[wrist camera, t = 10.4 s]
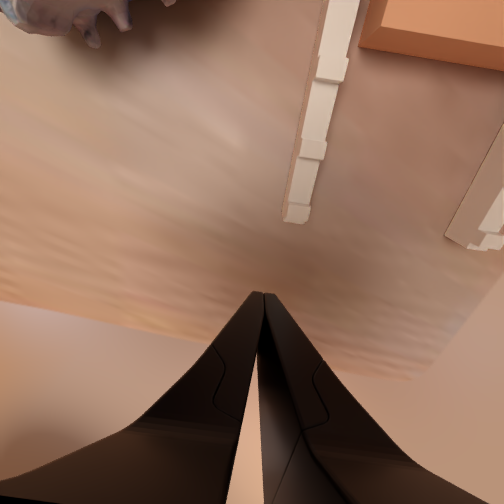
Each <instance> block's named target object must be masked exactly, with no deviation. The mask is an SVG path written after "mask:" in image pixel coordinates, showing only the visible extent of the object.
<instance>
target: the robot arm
mask: <svg viewBox="0 0 504 504" xmlns="http://www.w3.org/2000/svg"><path fill="white" fill-rule="evenodd" d="M256 353H257V371H258V389H259V390H258V391H259V411H260V431H261V451H262V471H263V491H264V504H488V503H487V502H485V501H483V500H481V499H479V498H477V497H475V496H474V495H472V494H470V493H468V492H466V491H464V490H463V489H461V488H459V487H457V486H455V485H454V484H452V483H450V482H448V481H446V480H444V479H442V478H441V477H439V476H437V475H435V474H433V473H431V472H430V471H428V470H426V469H425V468H423V467H422V466H420V465H419V464H417V463H416V462H415V461H413V460H412V459H411V458H410V457H409V456H408V455H407V454H406V453H404V452H403V451H402V450H401V449H400V448H399V447H398V446H397V445H396V444H395V443H394V442H393V440H392V439H391V438H390V437H389V436H388V435H387V434H386V432H385V431H384V430H383V429H382V428H381V427H380V426H379V425H378V424H377V422H376V421H375V420H374V419H373V418H372V417H371V416H370V415H369V413H368V412H367V411H366V410H365V409H364V408H363V407H362V406H361V405H360V403H358V401H357V400H356V399H355V398H354V397H353V395H352V394H351V393H350V392H349V391H348V390H347V389H346V387H345V386H344V385H343V384H342V383H341V381H340V380H339V379H338V377H337V376H336V375H335V374H334V373H333V371H332V370H331V368H330V367H329V366H328V364H327V363H326V362H325V361H324V360H323V358H322V357H321V355H320V354H319V353H318V351H317V350H316V349H315V347H314V346H313V344H312V343H311V342H310V340H309V339H308V338H307V336H306V335H305V334H304V332H303V331H302V330H301V328H300V327H299V326H298V324H297V323H296V322H295V320H294V319H293V318H292V316H291V315H290V314H289V312H288V311H287V310H286V308H285V307H284V306H283V304H282V303H281V302H280V300H279V299H278V297H277V296H276V295H275V294H272V293H264V294H263V293H262V292H257V291H252V292H251V294H250V295H249V296H248V297H247V299H246V300H245V301H244V302H243V304H242V305H241V306H240V307H239V309H238V310H237V311H236V313H235V314H234V315H233V316H232V318H231V319H230V320H229V321H228V323H227V324H226V325H225V327H224V328H223V329H222V330H221V332H220V333H219V334H218V335H217V337H216V338H215V339H214V340H213V342H212V343H211V345H209V347H208V348H207V349H206V350H205V352H204V353H203V354H202V355H201V357H200V358H199V359H198V360H197V361H196V362H195V364H194V365H193V366H192V367H191V368H190V369H189V370H188V371H187V372H186V373H185V374H184V375H183V376H182V377H181V378H180V379H179V380H178V381H177V382H176V383H175V384H174V385H173V386H172V387H171V388H170V389H169V390H168V391H167V392H166V393H165V394H163V395H162V396H161V397H160V398H159V399H158V400H157V401H156V402H155V403H154V404H153V405H152V406H151V407H150V408H149V409H148V410H147V411H146V412H145V413H144V414H143V415H142V416H140V417H139V418H138V419H137V420H136V421H134V422H133V423H132V424H130V425H129V426H127V427H126V428H124V429H122V430H121V431H119V432H117V433H115V434H112V435H110V436H108V437H106V438H103V439H101V440H99V441H97V442H95V443H92V444H90V445H88V446H85V447H83V448H81V449H79V450H77V451H75V452H72V453H70V454H68V455H65V456H63V457H61V458H59V459H56V460H54V461H52V462H50V463H47V464H45V465H43V466H41V467H39V468H36V469H34V470H32V471H29V472H26V473H24V474H21V475H19V476H16V477H12V478H9V479H5V480H1V481H0V504H226V500H227V495H228V490H229V485H230V480H231V475H232V470H233V465H234V460H235V456H236V451H237V446H238V441H239V436H240V431H241V426H242V421H243V417H244V412H245V407H246V402H247V397H248V392H249V387H250V383H251V378H252V372H253V368H254V363H255V358H256Z"/></svg>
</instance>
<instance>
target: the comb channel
mask: <svg viewBox="0 0 504 504" xmlns="http://www.w3.org/2000/svg"><path fill="white" fill-rule="evenodd" d="M359 2H360V0H323V5H322V10H321V15H320V20H319V25H318V30H317V35H316V40H315V45H314V50H313V55H312V60H311V65H310V70H309V75H308V80H307V85H306V90H305V95H304V101H303V106H302V111H301V116H300V121H299V126H298V131H297V136H296V141H295V146H294V151H293V156H292V161H291V166H290V171H289V176H288V181H287V186H286V191H285V196H284V201H283V206H282V216H283V221H284V222H290V223H297V224H303V225H304V223H305V221H306V222H308V218H309V214H310V210H311V206H310V205H309V203H310V199H311V195H312V191H313V187H314V183H315V179H316V175H317V171H318V167H319V163H320V160H323V159H324V155H325V151H326V147H327V143H328V142H325V139H326V135H327V131H328V127H329V123H330V119H331V115H332V111H333V107H334V103H335V99H336V95H337V91H338V87H339V84H340V83H341V82H343V80H344V76H345V73H346V69H347V65H348V61H349V58H346V54H347V50H348V46H349V42H350V38H351V34H352V30H353V26H354V22H355V18H356V14H357V10H358V6H359ZM503 225H504V123H503V125H502V127H501V129H500V131H499V133H498V135H497V137H496V138H495V140H494V142H493V144H492V146H491V148H490V150H489V152H488V154H487V155H486V157H485V159H484V161H483V163H482V165H481V167H480V169H479V170H478V172H477V174H476V176H475V178H474V180H473V182H472V184H471V185H470V187H469V189H468V191H467V193H466V195H465V197H464V199H463V201H462V202H461V204H460V206H459V208H458V210H457V212H456V214H455V216H454V217H453V219H452V221H451V223H450V225H449V227H448V229H447V231H446V232H445V234H444V236H446V237H448V238H449V239H451V240H453V241H454V242H456V243H458V244H460V245H461V246H463V247H465V248H466V249H473V250H480V251H487V250H488V249H495V250H500V249H501V248H502V246H503V245H504V235H503V234H501V233H498V232H499V231H500V229H501V228H502V226H503Z"/></svg>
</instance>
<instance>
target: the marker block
mask: <svg viewBox="0 0 504 504" xmlns="http://www.w3.org/2000/svg"><path fill="white" fill-rule="evenodd" d="M358 47H363V48H369V49H375V50H381V51H387V52H393V53H399V54H405V55H411V56H417V57H423V58H428V59H434V60H440V61H446V62H452V63H458V64H464V65H470V66H476V67H482V68H488V69H494V70H499V71H504V0H370V3H369V7H368V10H367V14H366V18H365V22H364V25H363V29H362V33H361V37H360V40H359V44H358Z"/></svg>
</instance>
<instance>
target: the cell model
mask: <svg viewBox="0 0 504 504" xmlns="http://www.w3.org/2000/svg"><path fill="white" fill-rule="evenodd" d="M130 1H131V0H0V12H2V13H4V14H5V16H6V17H7V19H8V20H9V21H10V22H11V23H12V24H13V25H14V26H16V27H18V28H19V29H21V30H23V31H25V32H27V33H28V34H41V35H46V36H65V35H66V34H67V33H68V32H70V30H71V27H72V24H73V25H74V26H75V27H76V28H77V29H78V31H79V32H80V33H81V35H82V36H83V38H84V40H85V41H86V43H87V44H88V46H89V47H92V48H95V49H97V48H99V47H100V46H101V41H100V37H99V34H98V31H97V28H96V24H97V15H98V14H99V13H100V12H101V11H103V12H105V13H106V14H107V15H109V16H110V18H111V19H112V20H113V22H114V23H115V25H116V26H117V27H118V29H119V30H120V32H124V31H128V30H131V29H132V27H133V24H132V18H131V15H130V12H129V8H128V2H130ZM161 1H162V2H163V3H164V5H165V6H166V7H168V6H170V5H172V4H174V3H175V2H176V0H161Z"/></svg>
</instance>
